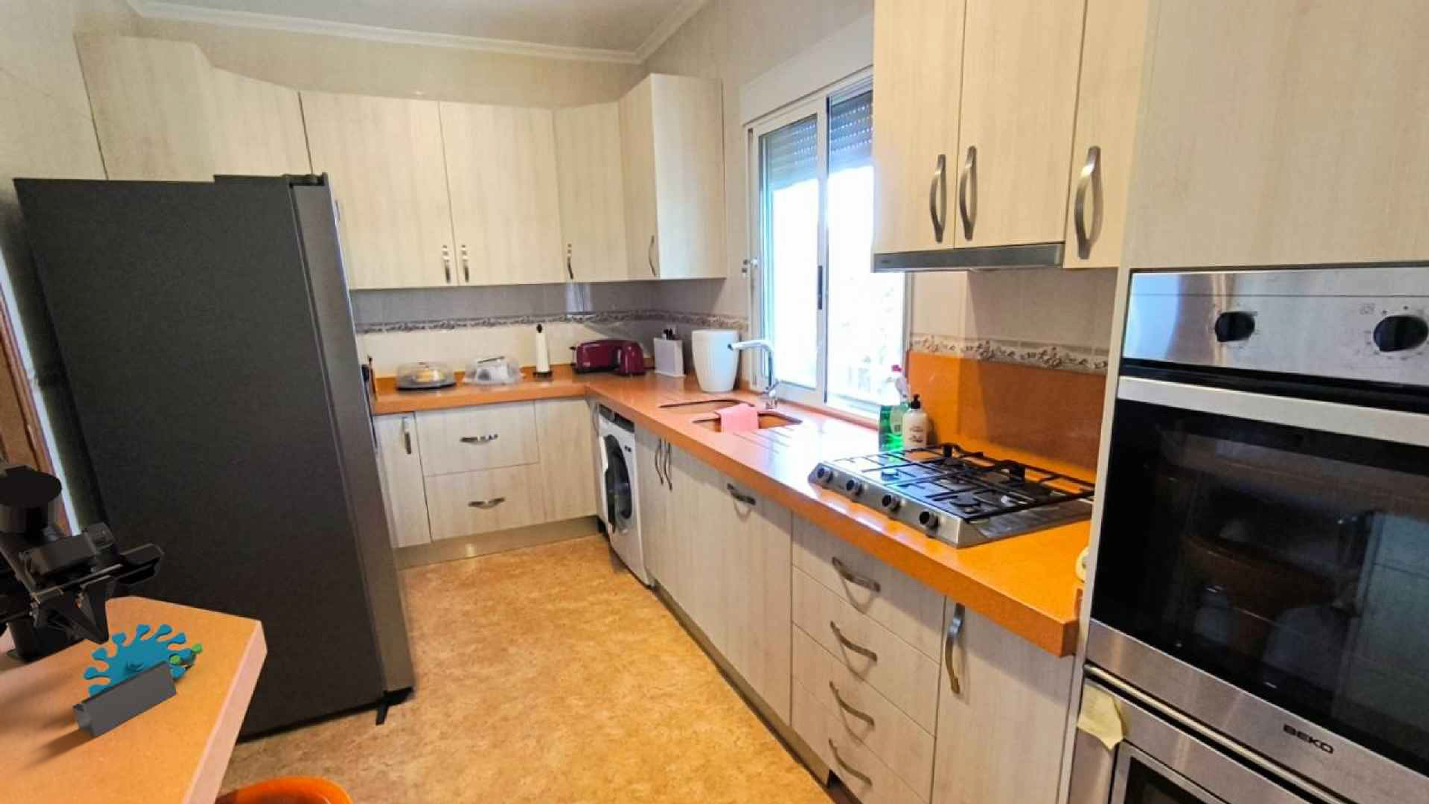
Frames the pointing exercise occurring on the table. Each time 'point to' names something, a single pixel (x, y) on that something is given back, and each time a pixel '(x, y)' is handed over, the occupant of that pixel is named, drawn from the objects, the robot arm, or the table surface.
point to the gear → (141, 656)
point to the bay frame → (125, 700)
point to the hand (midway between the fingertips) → (105, 641)
